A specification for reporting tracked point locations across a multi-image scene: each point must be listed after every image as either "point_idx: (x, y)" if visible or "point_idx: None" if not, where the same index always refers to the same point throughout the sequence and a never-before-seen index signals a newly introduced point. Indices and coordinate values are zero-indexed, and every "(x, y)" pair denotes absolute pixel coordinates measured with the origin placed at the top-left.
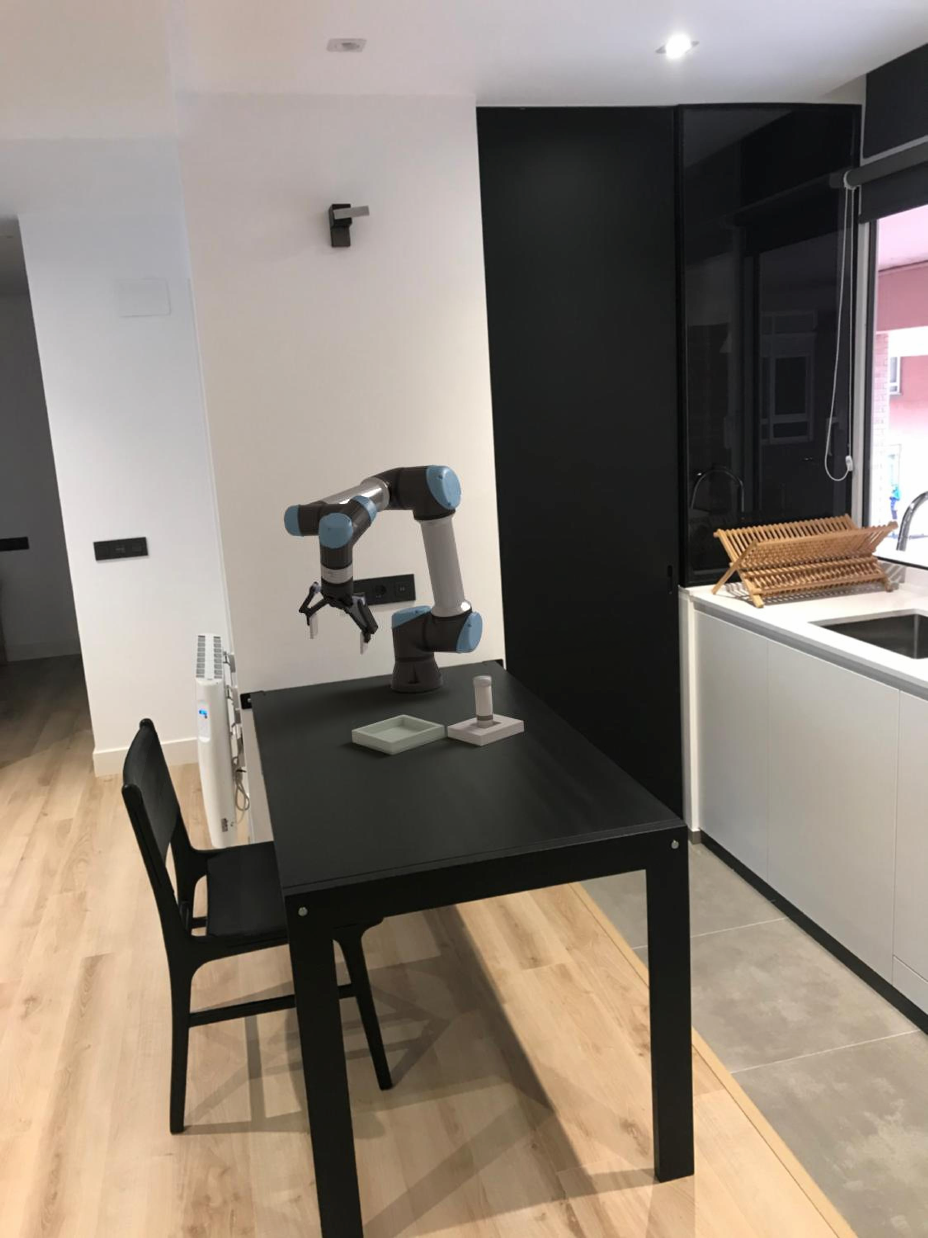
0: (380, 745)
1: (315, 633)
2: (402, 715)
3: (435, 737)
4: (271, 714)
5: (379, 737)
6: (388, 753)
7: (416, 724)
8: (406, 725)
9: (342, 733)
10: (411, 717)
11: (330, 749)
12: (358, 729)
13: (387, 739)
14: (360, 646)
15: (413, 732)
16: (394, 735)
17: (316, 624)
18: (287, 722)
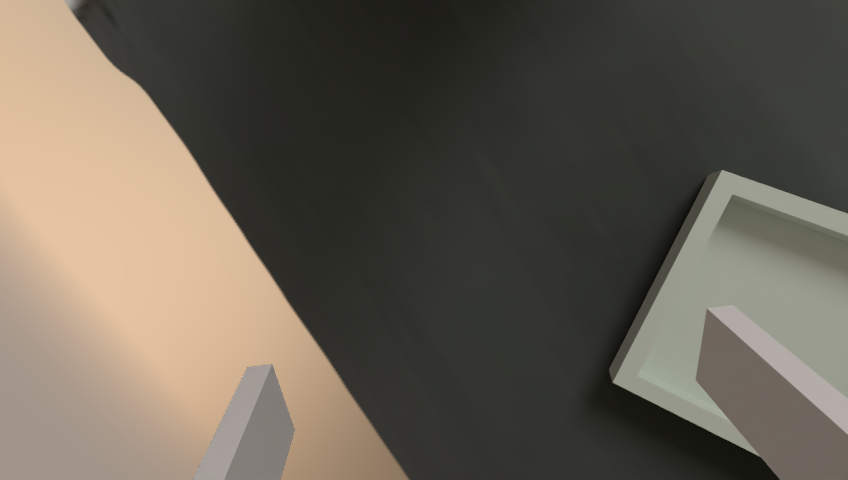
0: None
1: (276, 420)
2: (724, 183)
3: None
4: (222, 168)
5: None
6: None
7: (816, 228)
8: (740, 202)
9: (518, 285)
10: (782, 198)
11: (568, 434)
12: (634, 371)
13: None
14: (750, 440)
15: (818, 273)
16: (753, 317)
17: (241, 475)
18: (301, 223)
